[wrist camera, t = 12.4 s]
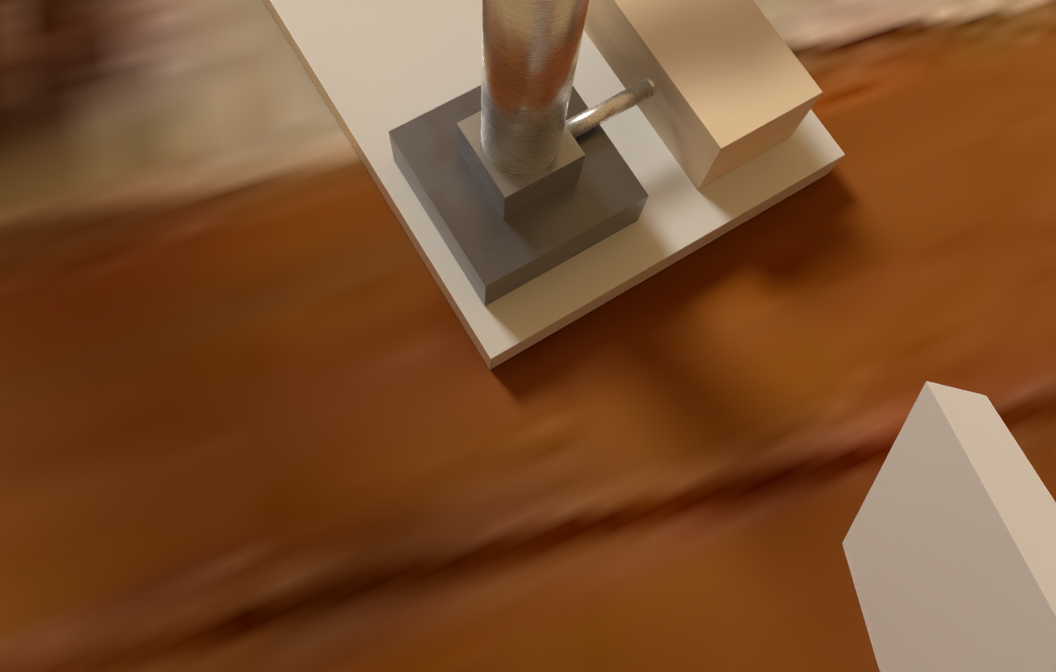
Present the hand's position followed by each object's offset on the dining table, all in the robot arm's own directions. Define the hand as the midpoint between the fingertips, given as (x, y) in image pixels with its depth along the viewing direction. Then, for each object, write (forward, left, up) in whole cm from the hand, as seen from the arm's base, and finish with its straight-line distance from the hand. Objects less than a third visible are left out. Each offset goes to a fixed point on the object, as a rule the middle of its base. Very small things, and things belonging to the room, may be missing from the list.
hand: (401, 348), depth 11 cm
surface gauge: (-7, +8, -16) cm, 19 cm away
